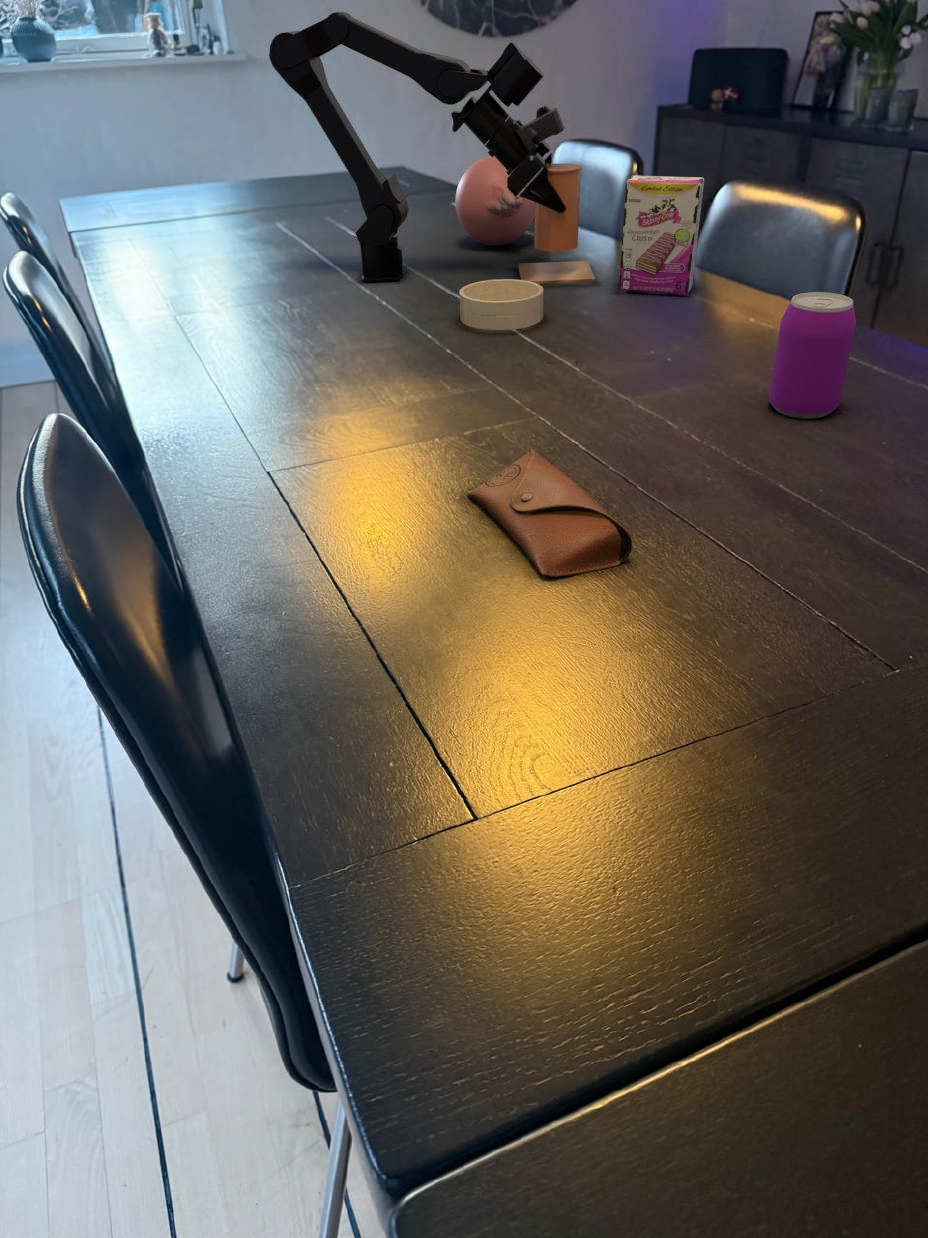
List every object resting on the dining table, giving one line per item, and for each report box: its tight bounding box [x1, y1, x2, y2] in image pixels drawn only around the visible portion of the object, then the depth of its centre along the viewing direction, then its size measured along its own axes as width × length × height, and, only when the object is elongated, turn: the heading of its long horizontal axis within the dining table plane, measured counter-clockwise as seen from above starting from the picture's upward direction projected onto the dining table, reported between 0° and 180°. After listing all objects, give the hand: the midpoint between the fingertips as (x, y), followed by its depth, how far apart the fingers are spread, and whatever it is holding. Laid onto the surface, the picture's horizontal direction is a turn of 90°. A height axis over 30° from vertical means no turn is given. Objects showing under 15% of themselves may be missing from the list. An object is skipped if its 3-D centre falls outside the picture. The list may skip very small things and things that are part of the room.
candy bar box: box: [618, 175, 705, 297], centre depth 138 cm, size 11×5×16 cm, turn 71°
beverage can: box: [768, 291, 857, 419], centre depth 98 cm, size 8×8×12 cm
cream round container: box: [459, 278, 545, 331], centre depth 132 cm, size 12×12×4 cm
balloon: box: [454, 156, 535, 247], centre depth 167 cm, size 15×20×15 cm
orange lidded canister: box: [533, 163, 582, 253], centre depth 146 cm, size 7×7×12 cm
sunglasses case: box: [466, 447, 633, 578], centre depth 81 cm, size 18×7×7 cm, turn 23°
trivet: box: [518, 260, 596, 285], centre depth 152 cm, size 12×12×1 cm
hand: (565, 206), depth 146 cm, fingers closed on orange lidded canister, 7 cm apart
